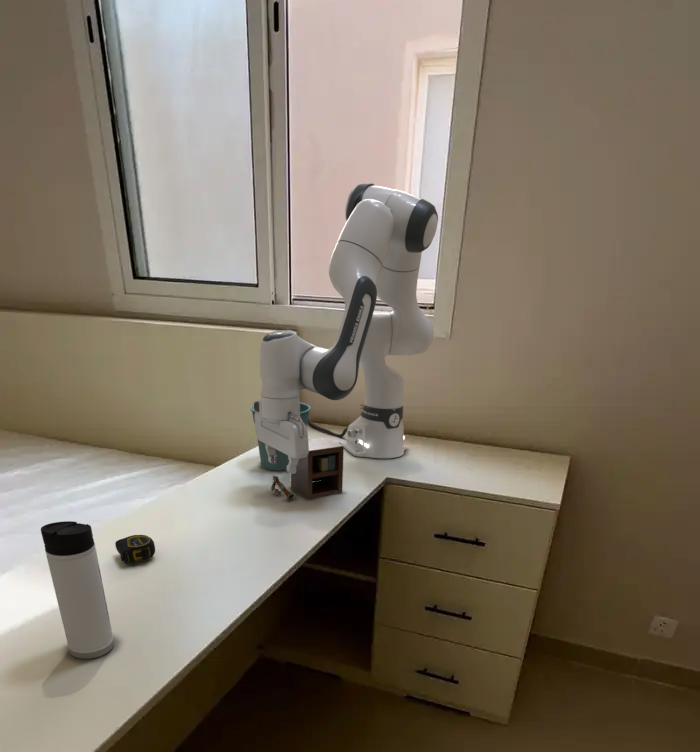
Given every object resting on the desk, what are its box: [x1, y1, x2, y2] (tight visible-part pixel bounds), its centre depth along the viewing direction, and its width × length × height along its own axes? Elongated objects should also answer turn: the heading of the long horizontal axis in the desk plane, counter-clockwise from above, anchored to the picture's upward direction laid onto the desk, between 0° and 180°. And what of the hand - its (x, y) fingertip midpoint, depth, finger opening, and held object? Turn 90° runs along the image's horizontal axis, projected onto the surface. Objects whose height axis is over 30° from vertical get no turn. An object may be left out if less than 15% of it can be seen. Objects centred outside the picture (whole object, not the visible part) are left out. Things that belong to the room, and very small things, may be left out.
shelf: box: [290, 436, 345, 500], centre depth 151 cm, size 9×10×12 cm
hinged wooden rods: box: [270, 475, 296, 502], centre depth 149 cm, size 2×8×4 cm, turn 43°
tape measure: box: [114, 534, 156, 565], centre depth 116 cm, size 7×7×4 cm
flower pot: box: [249, 401, 312, 472], centre depth 167 cm, size 16×16×16 cm
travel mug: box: [40, 520, 115, 660], centre depth 85 cm, size 6×7×20 cm
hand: (282, 467), depth 145 cm, fingers open, 8 cm apart
